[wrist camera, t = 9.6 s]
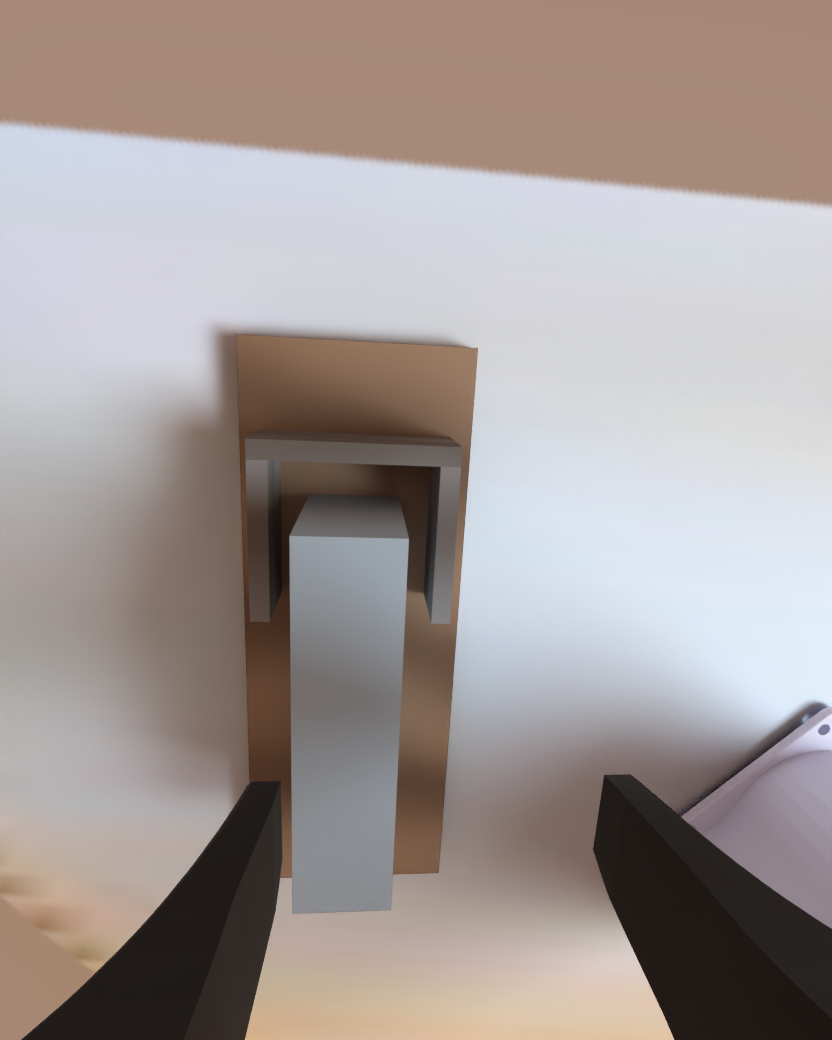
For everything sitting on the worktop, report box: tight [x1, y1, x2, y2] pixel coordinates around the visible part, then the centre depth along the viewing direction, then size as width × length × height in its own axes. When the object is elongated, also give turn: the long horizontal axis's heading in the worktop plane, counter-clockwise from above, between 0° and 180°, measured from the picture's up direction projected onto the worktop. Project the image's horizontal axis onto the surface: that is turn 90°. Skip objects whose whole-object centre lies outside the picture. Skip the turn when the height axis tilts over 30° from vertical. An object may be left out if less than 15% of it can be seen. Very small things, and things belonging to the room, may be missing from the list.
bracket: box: [236, 334, 478, 878], centre depth 20 cm, size 21×8×3 cm, turn 177°
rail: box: [289, 494, 409, 914], centre depth 18 cm, size 12×3×5 cm, turn 177°
